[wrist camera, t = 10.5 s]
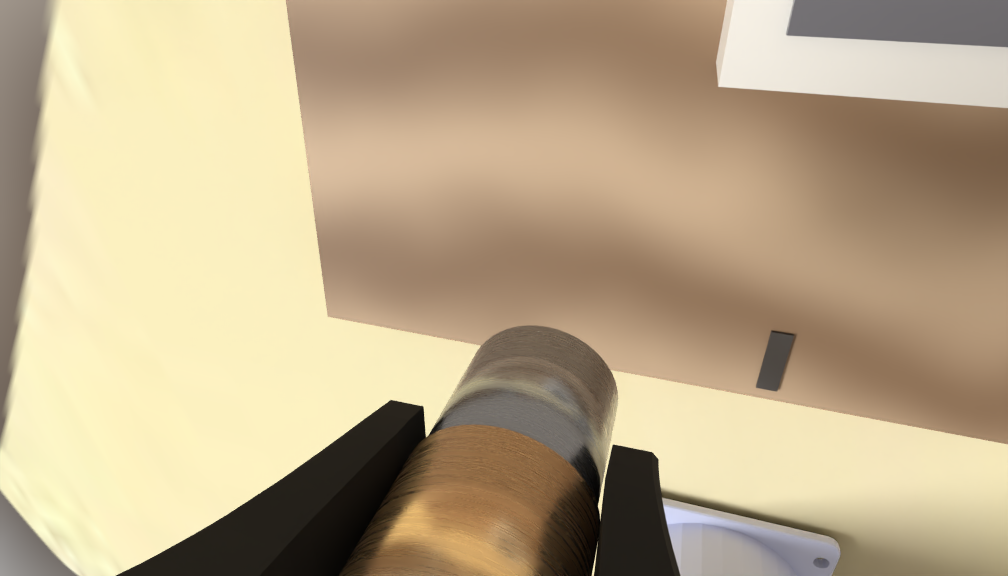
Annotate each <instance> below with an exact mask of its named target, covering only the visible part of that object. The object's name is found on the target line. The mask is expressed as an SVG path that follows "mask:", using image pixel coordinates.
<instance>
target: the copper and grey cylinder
mask: <svg viewBox="0 0 1008 576" xmlns="http://www.w3.org/2000/svg"><path fill="white" fill-rule="evenodd" d="M617 404H618V392H617V387H616V382H615V380H614V377H613V375H612V373H611V371H610V369H609V367H608V366H607V364H606V363H605V361H604V360H603V359H602V358H601V356H600V355H599V354H598V353H597V352H596V351H595V350H594V349H592V348H591V347H590V346H589V345H587V344H586V343H585V342H583V341H581V340H580V339H578V338H577V337H575V336H573V335H571V334H569V333H566V332H563V331H561V330H558V329H554V328H550V327H545V326H535V325H526V326H517V327H513V328H508V329H506V330H503V331H500V332H499V333H497V334H495V335H493V336H492V337H490V338H489V339H488V340H486V341H485V342H484V344H483V345H482V346H481V347H480V348H479V350H478V351H477V353H476V354H475V356H474V358H473V360H472V361H471V363H470V365H469V366H468V368H467V370H466V372H465V373H464V375H463V377H462V379H461V380H460V382H459V384H458V386H457V387H456V389H455V391H454V392H453V394H452V396H451V398H450V399H449V401H448V403H447V405H446V406H445V408H444V410H443V411H442V413H441V415H440V417H439V418H438V420H437V422H436V424H435V425H434V427H433V429H432V431H431V432H430V434H429V436H428V437H426V438H425V439H423V440H422V441H421V442H420V443H419V444H418V445H417V446H416V447H415V448H414V450H413V451H412V453H411V454H410V456H409V458H408V459H407V461H406V463H405V464H404V466H403V468H402V469H401V471H400V473H399V474H398V476H397V478H396V480H395V481H394V483H393V485H392V486H391V488H390V490H389V491H388V493H387V495H386V496H385V498H384V500H383V501H382V503H381V505H380V507H379V508H378V510H377V512H376V513H375V515H374V517H373V518H372V520H371V522H370V523H369V525H368V527H367V529H366V530H365V532H364V534H363V535H362V537H361V539H360V540H359V542H358V544H357V545H356V547H355V549H354V550H353V552H352V554H351V556H350V557H349V559H348V561H347V562H346V564H345V566H344V567H343V569H342V571H341V572H340V574H339V576H591V575H592V570H593V565H594V559H595V554H596V548H597V543H598V538H599V529H600V514H599V509H598V502H599V497H600V492H601V487H602V482H603V477H604V472H605V467H606V461H607V456H608V451H609V446H610V441H611V436H612V431H613V426H614V421H615V416H616V411H617Z"/></svg>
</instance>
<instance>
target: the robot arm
mask: <svg viewBox="0 0 1008 576" xmlns="http://www.w3.org/2000/svg"><path fill="white" fill-rule="evenodd" d="M425 438H426V434H425V421H424V408H423V406H418V405H413V404H408V403H403V402H398V401H393V400H391V401H389V402H388V403H386V404H385V405H384V406H382V407H381V408H379V409H378V410H377V411H375V412H374V413H372V414H371V415H370V416H368V417H367V418H366V419H364V420H363V421H361V422H360V423H359V424H357V425H356V426H355V427H353V428H352V429H351V430H349V431H348V432H347V433H345V434H344V435H343V436H341V437H340V438H338V439H337V440H336V441H334V442H333V443H332V444H330V445H329V446H328V447H326V448H325V449H323V450H322V451H321V452H319V453H318V454H316V455H315V456H314V457H312V458H311V459H309V460H308V461H307V462H305V463H304V464H302V465H301V466H300V467H298V468H297V469H295V470H294V471H293V472H291V473H290V474H288V475H287V476H285V477H284V478H283V479H281V480H280V481H278V482H277V483H275V484H274V485H272V486H271V487H269V488H267V489H266V490H264V491H263V492H261V493H260V494H258V495H257V496H255V497H254V498H252V499H251V500H249V501H248V502H246V503H245V504H243V505H241V506H240V507H238V508H237V509H235V510H234V511H232V512H231V513H229V514H228V515H226V516H224V517H223V518H221V519H219V520H218V521H216V522H214V523H213V524H211V525H209V526H208V527H206V528H204V529H203V530H201V531H199V532H197V533H196V534H194V535H192V536H190V537H189V538H187V539H185V540H183V541H181V542H180V543H178V544H176V545H174V546H172V547H171V548H169V549H167V550H165V551H163V552H162V553H160V554H158V555H156V556H154V557H152V558H150V559H148V560H147V561H145V562H143V563H141V564H139V565H137V566H135V567H133V568H131V569H129V570H127V571H124V572H122V573H120V574H118V575H116V576H339V574H340V572H341V571H342V569H343V567H344V566H345V564H346V562H347V561H348V559H349V557H350V556H351V554H352V552H353V550H354V549H355V547H356V545H357V544H358V542H359V540H360V539H361V537H362V535H363V534H364V532H365V530H366V529H367V527H368V525H369V523H370V522H371V520H372V518H373V517H374V515H375V513H376V512H377V510H378V508H379V507H380V505H381V503H382V501H383V500H384V498H385V496H386V495H387V493H388V491H389V490H390V488H391V486H392V485H393V483H394V481H395V480H396V478H397V476H398V474H399V473H400V471H401V469H402V468H403V466H404V464H405V463H406V461H407V459H408V458H409V456H410V454H411V453H412V451H413V450H414V448H415V447H416V446H417V445H418V444H419V443H420V442H421V441H422V440H423V439H425ZM840 554H841V551H840V547H839V544H838V542H837V541H836V540H835V539H833V538H831V537H828V536H825V535H821V534H816V533H812V532H808V531H803V530H799V529H795V528H791V527H786V526H782V525H778V524H773V523H769V522H765V521H761V520H756V519H752V518H748V517H743V516H739V515H735V514H730V513H726V512H722V511H718V510H713V509H709V508H705V507H700V506H696V505H692V504H687V503H683V502H679V501H675V500H670V499H666V498H662V495H661V488H660V480H659V468H658V459H657V457H656V456H655V455H654V454H653V453H652V452H648V451H643V450H638V449H633V448H628V447H623V446H618V445H613V446H612V451H611V455H610V460H609V464H608V469H607V474H606V478H605V486H604V495H603V503H602V512H601V521H600V529H599V538H598V546H597V555H596V564H595V572H594V576H832V574H833V572H834V570H835V567H836V565H837V563H838V560H839V558H840ZM817 558H824V559H817Z"/></svg>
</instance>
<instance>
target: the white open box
mask: <svg viewBox="0 0 1008 576" xmlns="http://www.w3.org/2000/svg"><path fill="white" fill-rule="evenodd" d="M716 67H717V78H718V87H728V88H742V89H755V90H769V91H782V92H796V93H809V94H823V95H836V96H850V97H863V98H877V99H890V100H904V101H918V102H931V103H945V104H958V105H972V106H985V107H999V108H1008V0H727V4H726V10H725V15H724V21H723V26H722V32H721V38H720V43H719V49H718V54H717V60H716Z"/></svg>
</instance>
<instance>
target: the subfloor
mask: <svg viewBox="0 0 1008 576" xmlns="http://www.w3.org/2000/svg"><path fill="white" fill-rule="evenodd" d="M726 4H727V0H286V5H287V12H288V20H289V27H290V35H291V42H292V50H293V57H294V65H295V72H296V80H297V87H298V95H299V103H300V110H301V118H302V125H303V133H304V140H305V148H306V155H307V163H308V170H309V178H310V185H311V193H312V200H313V208H314V215H315V223H316V231H317V238H318V246H319V253H320V261H321V268H322V276H323V283H324V291H325V298H326V306H327V313H328V317H333V318H338V319H343V320H349V321H354V322H359V323H365V324H370V325H375V326H381V327H386V328H391V329H397V330H402V331H407V332H413V333H418V334H423V335H429V336H434V337H439V338H445V339H450V340H455V341H461V342H466V343H471V344H477V345H483V344H484V342H485V341H486V340H488V339H489V338H490V337H492V336H493V335H495V334H497V333H499V332H500V331H503V330H506V329H508V328H513V327H517V326H526V325H535V326H545V327H550V328H554V329H558V330H561V331H563V332H566V333H569V334H571V335H573V336H575V337H577V338H578V339H580V340H581V341H583V342H585V343H586V344H587V345H589V346H590V347H591V348H592V349H594V350H595V351H596V352H597V353H598V354H599V355H600V356H601V358H602V359H603V360H604V361H605V363H606V364H607V366H608V367H609V369H610V370H615V371H621V372H626V373H631V374H637V375H642V376H647V377H653V378H658V379H663V380H669V381H674V382H679V383H685V384H690V385H695V386H701V387H706V388H711V389H717V390H722V391H727V392H733V393H738V394H743V395H749V396H754V397H759V398H765V399H770V400H775V401H780V402H786V403H791V404H796V405H802V406H807V407H812V408H818V409H823V410H828V411H834V412H839V413H844V414H850V415H855V416H860V417H866V418H871V419H876V420H882V421H887V422H892V423H898V424H903V425H908V426H914V427H919V428H924V429H930V430H935V431H940V432H946V433H951V434H956V435H962V436H967V437H972V438H978V439H983V440H988V441H994V442H999V443H1004V444H1008V108H999V107H985V106H972V105H958V104H945V103H931V102H918V101H904V100H890V99H877V98H863V97H850V96H836V95H823V94H809V93H796V92H782V91H769V90H755V89H742V88H728V87H718V78H717V67H716V60H717V54H718V49H719V43H720V38H721V32H722V26H723V21H724V15H725V10H726Z"/></svg>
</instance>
